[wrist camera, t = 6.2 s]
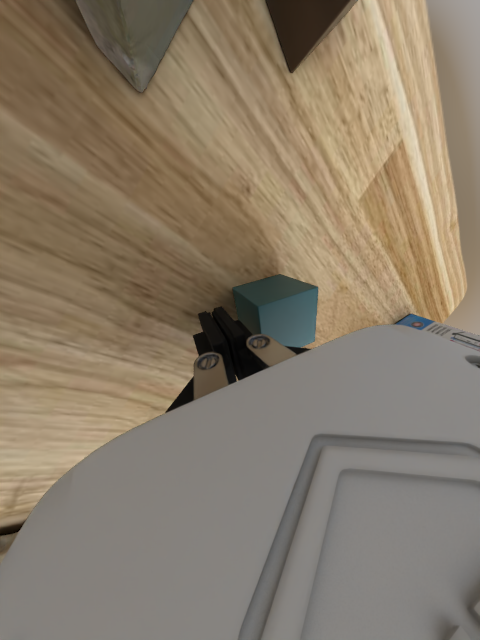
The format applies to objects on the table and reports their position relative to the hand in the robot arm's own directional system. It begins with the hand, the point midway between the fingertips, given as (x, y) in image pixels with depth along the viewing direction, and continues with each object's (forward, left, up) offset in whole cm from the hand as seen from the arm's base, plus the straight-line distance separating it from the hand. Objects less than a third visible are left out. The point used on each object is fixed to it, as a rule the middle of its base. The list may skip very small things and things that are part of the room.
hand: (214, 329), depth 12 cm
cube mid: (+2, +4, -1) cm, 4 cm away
